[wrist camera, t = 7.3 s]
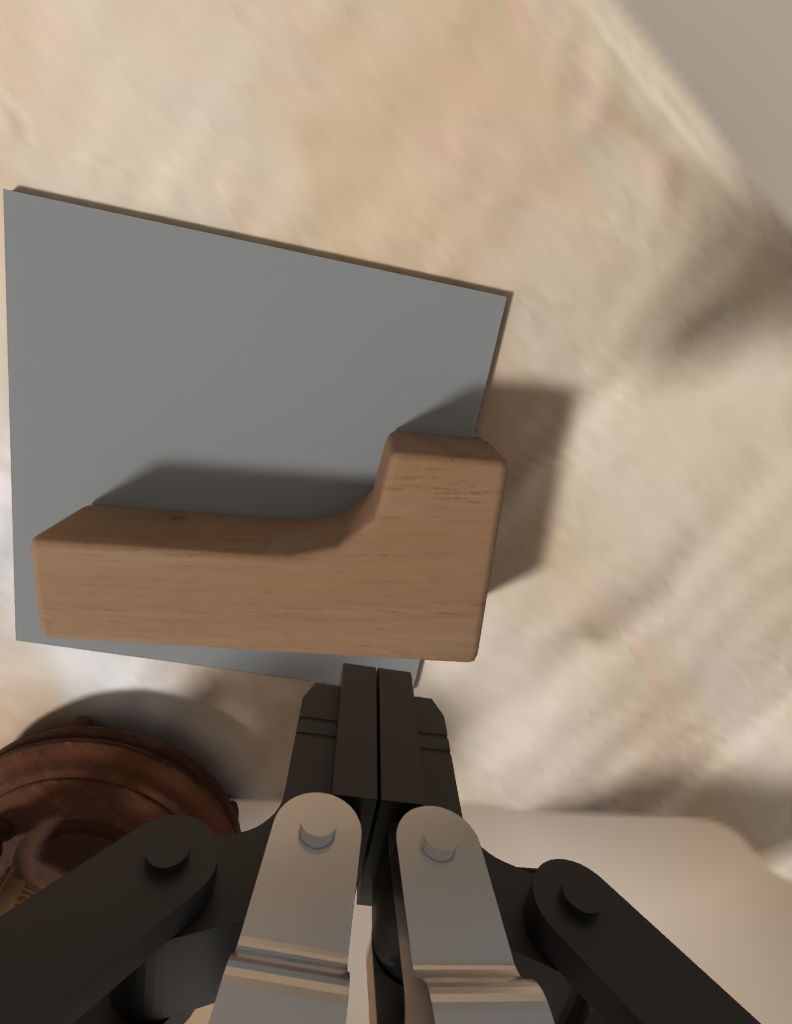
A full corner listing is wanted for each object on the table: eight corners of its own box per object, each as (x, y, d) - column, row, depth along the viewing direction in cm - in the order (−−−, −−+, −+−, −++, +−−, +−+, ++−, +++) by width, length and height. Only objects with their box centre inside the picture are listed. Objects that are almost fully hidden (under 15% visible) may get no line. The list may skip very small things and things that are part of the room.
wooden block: (487, 437, 24) (75, 402, 23) (511, 459, 20) (8, 418, 19) (461, 614, 27) (92, 590, 26) (478, 666, 23) (37, 641, 22)
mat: (504, 297, 23) (506, 297, 23) (411, 690, 29) (411, 694, 29) (10, 191, 21) (3, 189, 21) (20, 635, 27) (15, 640, 27)
